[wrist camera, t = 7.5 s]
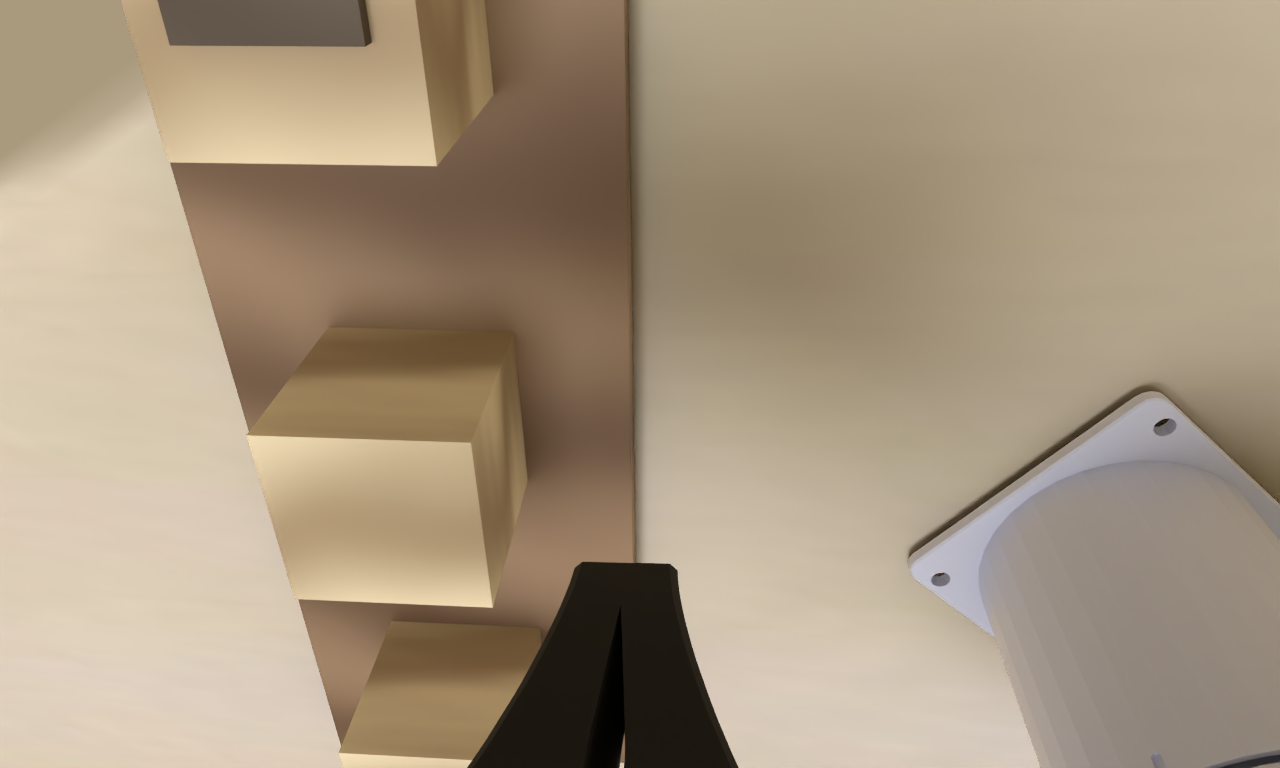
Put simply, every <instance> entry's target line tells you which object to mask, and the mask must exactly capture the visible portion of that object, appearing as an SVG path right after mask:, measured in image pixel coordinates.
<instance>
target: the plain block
mask: <svg viewBox="0 0 1280 768" xmlns="http://www.w3.org/2000/svg"><path fill="white" fill-rule="evenodd" d="M246 436H247V439H248V443H249V446H250V449H251V453H252V456H253V459H254V463H255V466H256V470H257V473H258V476H259V480H260V483H261V486H262V490H263V493H264V497H265V500H266V503H267V507H268V510H269V513H270V517H271V520H272V524H273V527H274V530H275V534H276V537H277V540H278V544H279V547H280V551H281V554H282V557H283V561H284V564H285V567H286V571H287V574H288V578H289V581H290V584H291V588H292V591H293V594H294V598H295V599H305V600H328V601H350V602H373V603H396V604H419V605H442V606H465V607H487V608H493V605H494V602H495V598H496V594H497V591H498V587H499V584H500V580H501V576H502V573H503V569H504V565H505V562H506V558H507V555H508V551H509V547H510V544H511V540H512V536H513V533H514V529H515V526H516V522H517V518H518V515H519V511H520V508H521V504H522V500H523V497H524V493H525V489H526V486H527V482H528V479H527V468H526V458H525V447H524V436H523V426H522V415H521V405H520V394H519V383H518V373H517V362H516V351H515V341H514V332H503V331H464V330H424V329H384V328H345V327H328V328H327V330H326V331H325V332H324V334H323V335H322V336H321V338H320V339H319V340H318V342H317V343H316V344H315V346H314V347H313V348H312V350H311V351H310V352H309V353H308V355H307V356H306V357H305V359H304V360H303V361H302V363H301V364H300V365H299V367H298V368H297V369H296V371H295V372H294V373H293V375H292V376H291V377H290V379H289V380H288V381H287V382H286V384H285V385H284V386H283V388H282V389H281V390H280V392H279V393H278V394H277V396H276V397H275V398H274V400H273V401H272V402H271V404H270V405H269V406H268V408H267V409H266V410H265V411H264V413H263V414H262V415H261V417H260V418H259V419H258V421H257V422H256V423H255V425H254V426H253V427H252V429H251V430H250V431H249V433H248V434H247V435H246Z"/></svg>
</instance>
